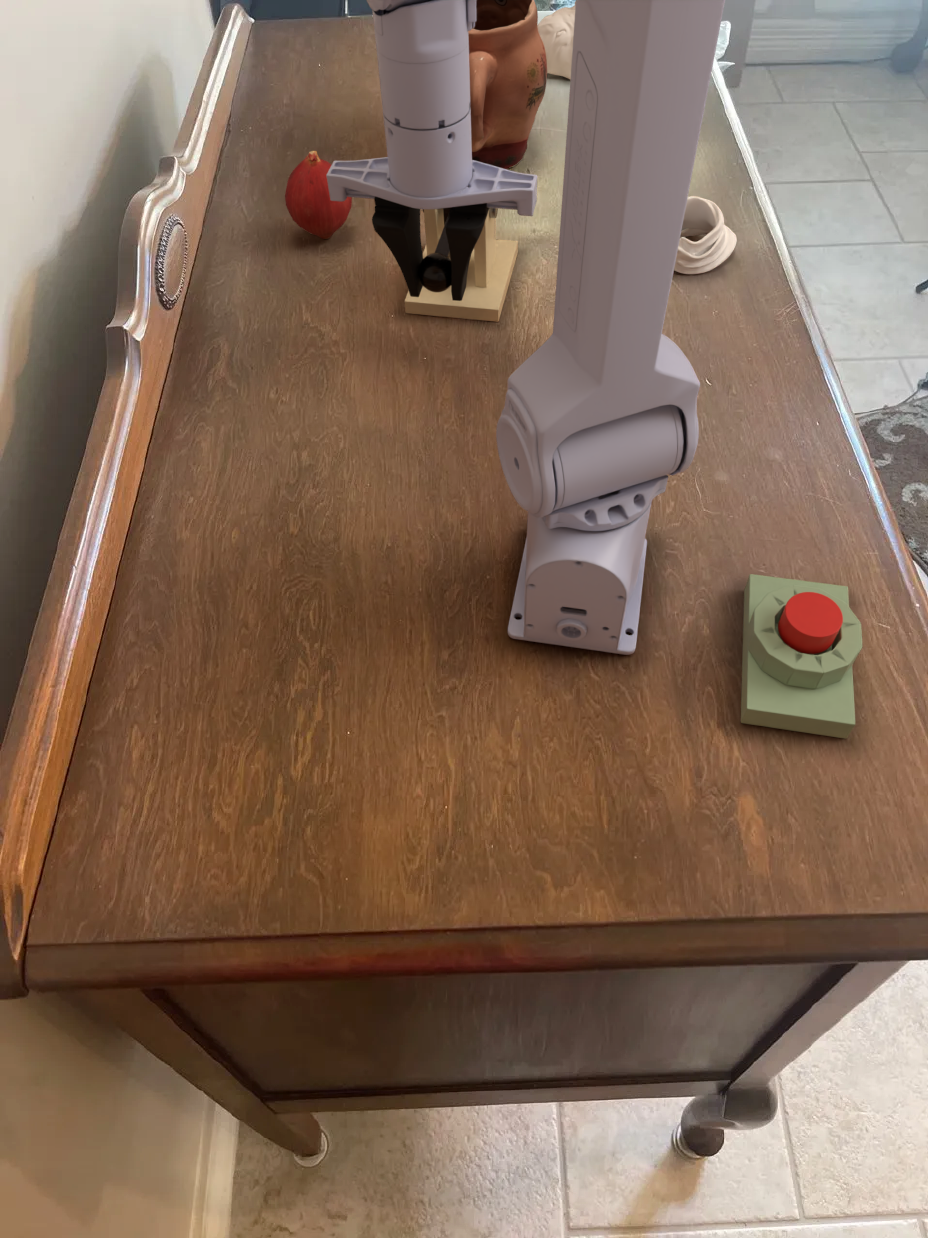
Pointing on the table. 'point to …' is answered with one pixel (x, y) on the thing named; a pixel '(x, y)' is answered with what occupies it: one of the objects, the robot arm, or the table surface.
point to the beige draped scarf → (712, 247)
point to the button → (810, 622)
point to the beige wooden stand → (469, 274)
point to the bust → (558, 40)
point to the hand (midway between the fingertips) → (438, 290)
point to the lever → (437, 263)
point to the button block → (796, 663)
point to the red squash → (314, 198)
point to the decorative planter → (505, 79)
